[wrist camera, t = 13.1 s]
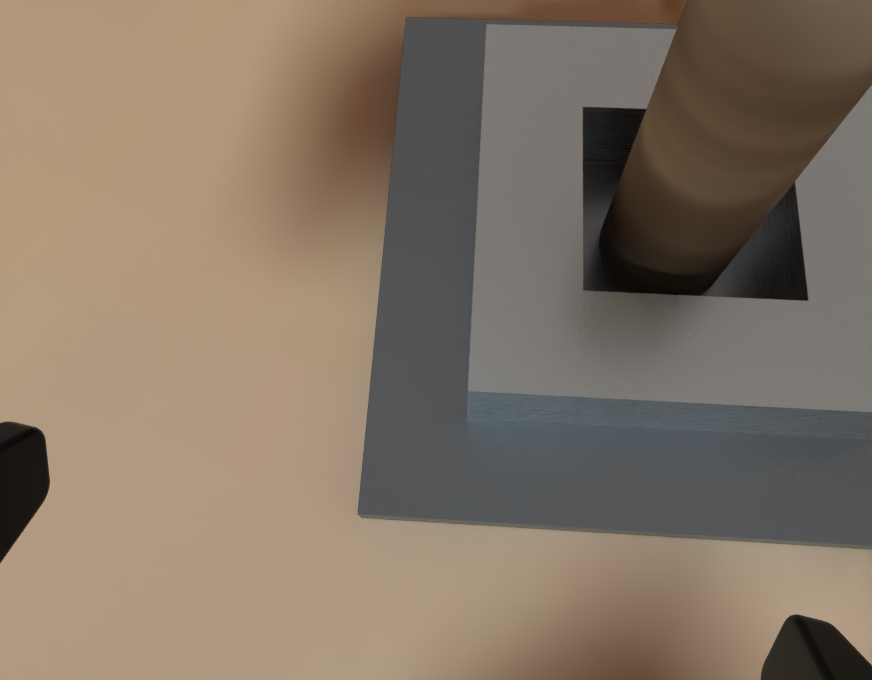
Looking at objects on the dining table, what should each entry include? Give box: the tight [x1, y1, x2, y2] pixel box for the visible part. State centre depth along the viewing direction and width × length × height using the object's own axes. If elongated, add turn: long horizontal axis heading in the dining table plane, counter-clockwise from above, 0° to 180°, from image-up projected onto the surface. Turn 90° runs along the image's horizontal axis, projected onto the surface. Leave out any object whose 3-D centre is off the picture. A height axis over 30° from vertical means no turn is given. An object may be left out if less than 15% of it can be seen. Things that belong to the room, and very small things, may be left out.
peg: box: [599, 0, 872, 296], centre depth 18 cm, size 4×4×12 cm
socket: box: [358, 17, 872, 549], centre depth 23 cm, size 18×18×4 cm
